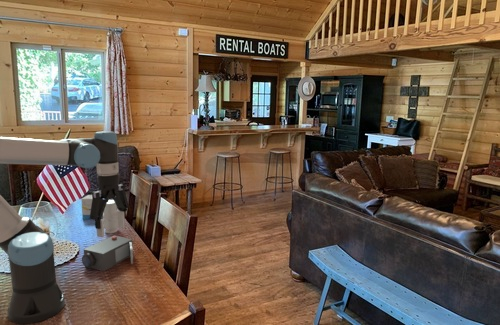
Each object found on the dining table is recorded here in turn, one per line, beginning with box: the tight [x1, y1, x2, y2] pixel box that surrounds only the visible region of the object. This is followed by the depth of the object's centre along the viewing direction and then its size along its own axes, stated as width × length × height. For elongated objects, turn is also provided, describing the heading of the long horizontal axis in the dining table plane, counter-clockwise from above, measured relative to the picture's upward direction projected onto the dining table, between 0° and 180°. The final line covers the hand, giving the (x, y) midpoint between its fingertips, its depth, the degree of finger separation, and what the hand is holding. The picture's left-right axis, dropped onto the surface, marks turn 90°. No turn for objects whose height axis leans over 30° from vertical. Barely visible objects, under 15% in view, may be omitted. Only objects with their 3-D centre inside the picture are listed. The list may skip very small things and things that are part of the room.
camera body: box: [81, 235, 134, 272], centre depth 147 cm, size 18×10×8 cm, turn 156°
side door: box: [129, 240, 134, 265], centre depth 148 cm, size 9×1×6 cm, turn 21°
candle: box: [102, 199, 119, 234], centre depth 180 cm, size 7×7×15 cm
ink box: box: [80, 194, 103, 220], centre depth 201 cm, size 8×8×12 cm
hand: (111, 231), depth 137 cm, fingers open, 10 cm apart
